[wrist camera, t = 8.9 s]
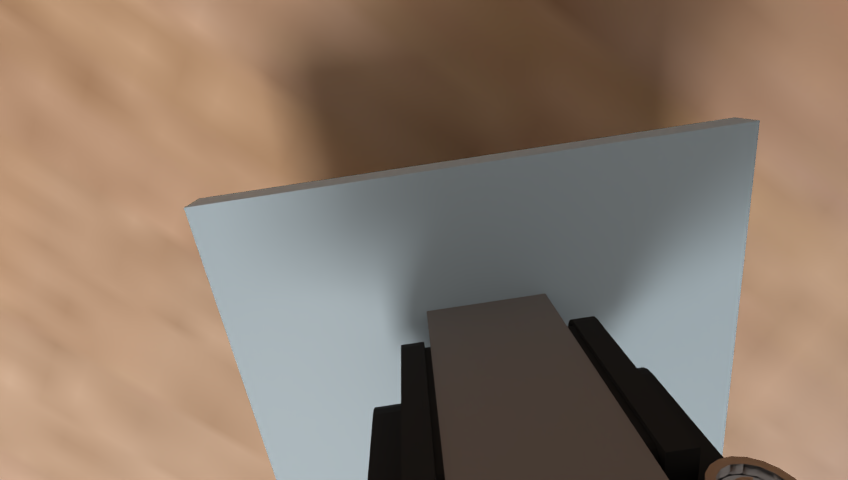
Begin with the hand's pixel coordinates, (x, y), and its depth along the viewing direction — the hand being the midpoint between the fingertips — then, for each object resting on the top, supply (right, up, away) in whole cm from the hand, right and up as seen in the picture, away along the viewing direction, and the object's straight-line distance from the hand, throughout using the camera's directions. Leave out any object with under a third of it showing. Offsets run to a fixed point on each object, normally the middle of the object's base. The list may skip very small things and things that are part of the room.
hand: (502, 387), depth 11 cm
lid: (0, +1, +2) cm, 2 cm away
